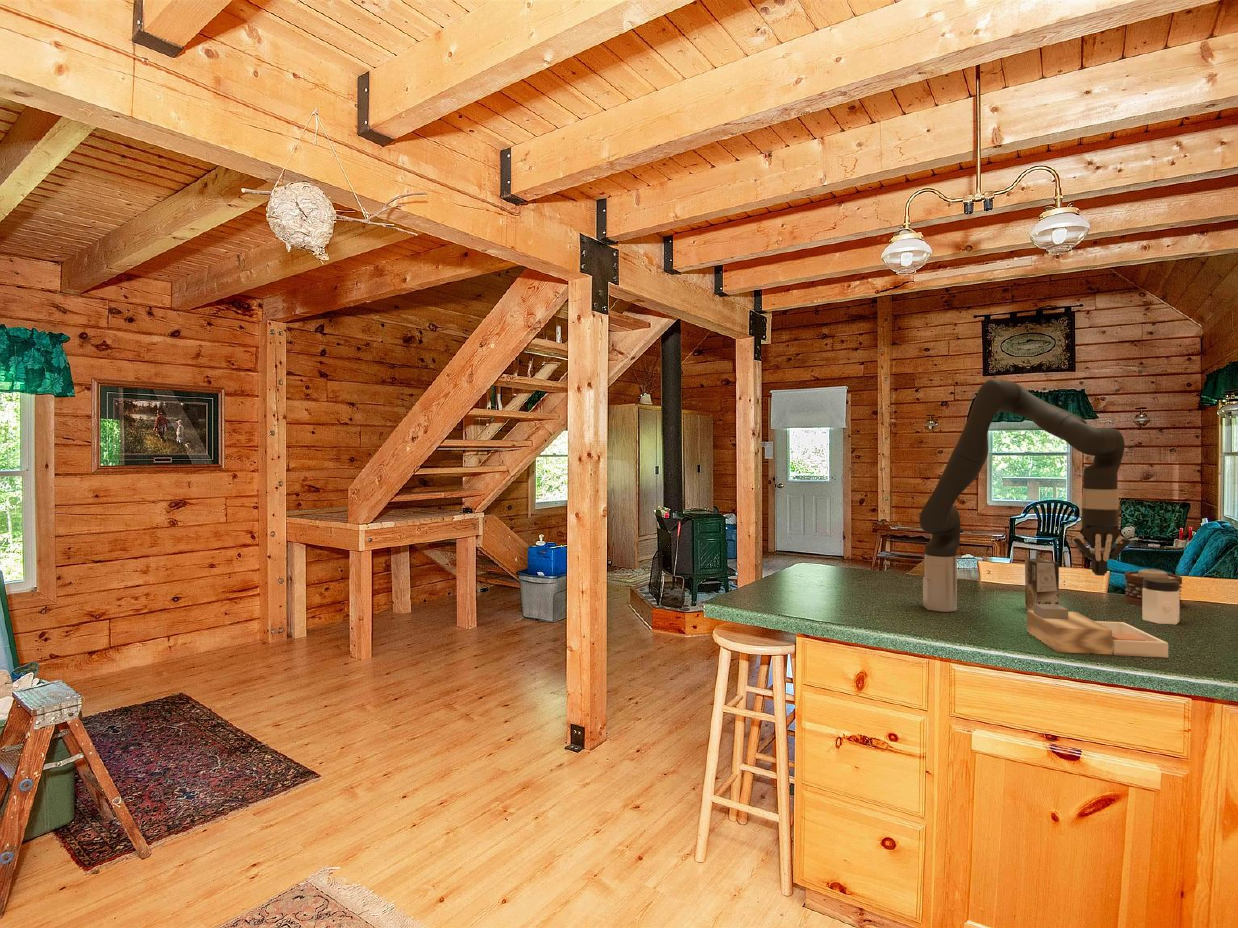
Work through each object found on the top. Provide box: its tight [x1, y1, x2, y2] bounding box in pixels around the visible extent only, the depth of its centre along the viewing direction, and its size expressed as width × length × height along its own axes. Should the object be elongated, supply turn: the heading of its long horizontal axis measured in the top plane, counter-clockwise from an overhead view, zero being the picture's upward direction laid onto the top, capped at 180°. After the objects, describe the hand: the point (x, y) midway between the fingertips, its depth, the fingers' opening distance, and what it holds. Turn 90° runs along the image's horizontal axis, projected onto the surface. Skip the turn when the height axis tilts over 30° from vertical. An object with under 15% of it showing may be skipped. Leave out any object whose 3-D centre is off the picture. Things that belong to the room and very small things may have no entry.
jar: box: [1141, 578, 1181, 626], centre depth 194 cm, size 9×8×12 cm
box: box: [1094, 620, 1169, 659], centre depth 171 cm, size 11×20×4 cm, turn 168°
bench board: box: [1026, 609, 1113, 655], centre depth 173 cm, size 12×19×6 cm, turn 168°
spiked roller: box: [1124, 568, 1184, 609], centre depth 215 cm, size 15×11×15 cm
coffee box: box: [1024, 558, 1060, 611], centre depth 206 cm, size 9×6×16 cm
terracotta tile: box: [1112, 633, 1145, 641], centre depth 168 cm, size 6×6×2 cm
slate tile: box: [1034, 604, 1069, 619], centre depth 177 cm, size 6×6×2 cm
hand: (1099, 575), depth 168 cm, fingers closed
